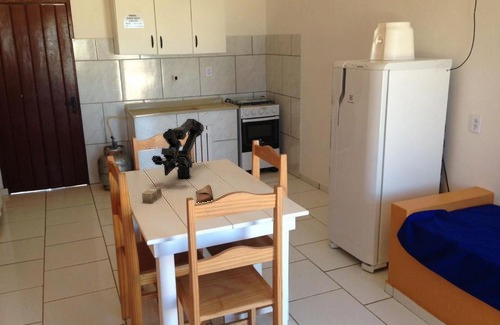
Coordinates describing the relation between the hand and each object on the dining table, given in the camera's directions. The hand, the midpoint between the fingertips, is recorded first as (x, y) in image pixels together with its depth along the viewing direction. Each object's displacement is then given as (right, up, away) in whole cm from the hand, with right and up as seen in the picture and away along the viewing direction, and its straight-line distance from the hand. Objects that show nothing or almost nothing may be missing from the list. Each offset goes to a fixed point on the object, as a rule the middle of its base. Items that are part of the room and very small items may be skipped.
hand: (165, 175), depth 227 cm
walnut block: (-3, -8, -8) cm, 12 cm away
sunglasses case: (+21, -11, -9) cm, 25 cm away
